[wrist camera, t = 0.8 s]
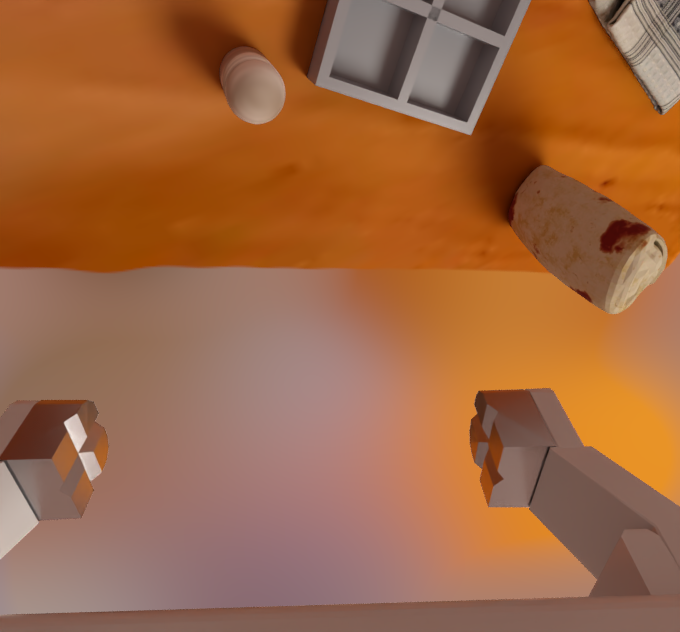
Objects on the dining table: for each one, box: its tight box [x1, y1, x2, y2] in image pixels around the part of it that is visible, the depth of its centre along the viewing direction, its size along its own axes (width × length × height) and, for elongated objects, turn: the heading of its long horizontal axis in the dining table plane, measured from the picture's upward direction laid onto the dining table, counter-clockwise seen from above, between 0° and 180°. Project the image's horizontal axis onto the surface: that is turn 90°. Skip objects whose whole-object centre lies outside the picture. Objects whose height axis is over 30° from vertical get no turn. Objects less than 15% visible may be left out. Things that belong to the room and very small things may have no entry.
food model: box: [508, 165, 667, 314], centre depth 55 cm, size 10×7×20 cm
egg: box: [219, 46, 285, 124], centre depth 43 cm, size 5×5×10 cm
